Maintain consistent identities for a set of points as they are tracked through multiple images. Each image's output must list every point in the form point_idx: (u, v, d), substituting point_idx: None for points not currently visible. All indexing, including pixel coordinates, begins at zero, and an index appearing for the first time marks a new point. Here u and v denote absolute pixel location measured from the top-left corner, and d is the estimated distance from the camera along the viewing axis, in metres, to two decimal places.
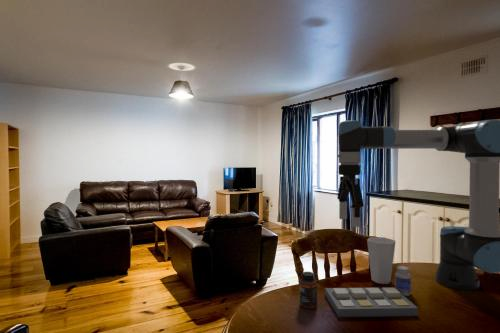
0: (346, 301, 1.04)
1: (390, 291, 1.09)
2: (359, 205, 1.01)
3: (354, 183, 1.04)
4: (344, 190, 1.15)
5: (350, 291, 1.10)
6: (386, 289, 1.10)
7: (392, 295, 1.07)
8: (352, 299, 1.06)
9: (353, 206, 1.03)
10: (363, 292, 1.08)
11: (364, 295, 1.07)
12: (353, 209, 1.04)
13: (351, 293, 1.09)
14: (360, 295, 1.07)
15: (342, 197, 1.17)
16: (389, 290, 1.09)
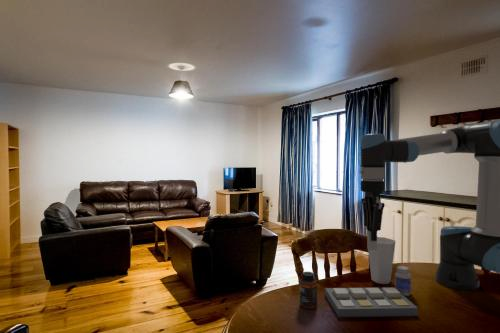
0: (346, 301, 1.04)
1: (390, 291, 1.09)
2: (376, 230, 1.00)
3: (377, 208, 0.98)
4: (369, 210, 1.04)
5: (350, 291, 1.10)
6: (386, 289, 1.10)
7: (392, 295, 1.07)
8: (352, 299, 1.06)
9: (370, 230, 1.02)
10: (363, 292, 1.08)
11: (364, 295, 1.07)
12: (370, 232, 1.03)
13: (351, 293, 1.09)
14: (360, 295, 1.07)
15: (369, 221, 1.05)
16: (389, 290, 1.09)
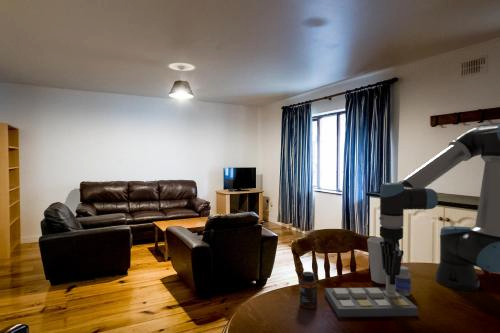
0: (346, 301, 1.04)
1: (390, 293, 1.09)
2: (395, 275, 1.06)
3: (397, 255, 1.04)
4: (388, 255, 1.10)
5: (350, 291, 1.10)
6: (386, 292, 1.10)
7: None
8: (352, 299, 1.06)
9: (388, 275, 1.08)
10: (363, 292, 1.08)
11: (364, 295, 1.07)
12: (388, 276, 1.09)
13: (351, 293, 1.09)
14: (360, 295, 1.07)
15: None
16: (389, 293, 1.09)
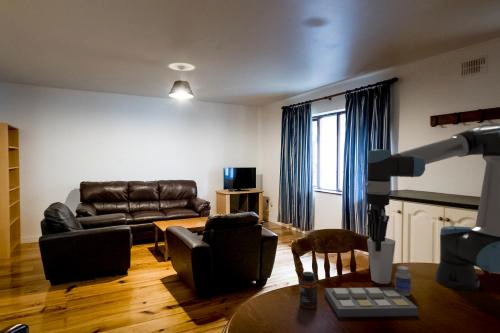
0: (346, 301, 1.04)
1: (390, 294, 1.09)
2: (380, 241, 1.06)
3: (382, 221, 1.03)
4: (374, 222, 1.10)
5: (350, 291, 1.10)
6: (386, 292, 1.10)
7: None
8: (352, 299, 1.06)
9: (374, 241, 1.07)
10: (363, 292, 1.08)
11: (364, 295, 1.07)
12: (374, 243, 1.08)
13: (351, 293, 1.09)
14: (360, 295, 1.07)
15: None
16: (389, 293, 1.09)
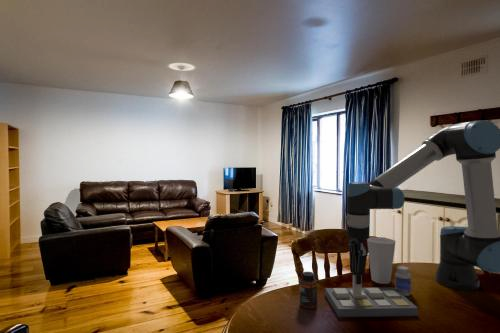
0: (346, 301, 1.04)
1: (390, 294, 1.09)
2: (360, 274, 1.06)
3: (361, 255, 1.03)
4: (355, 254, 1.10)
5: (350, 293, 1.10)
6: (386, 292, 1.10)
7: None
8: (352, 299, 1.06)
9: (354, 274, 1.08)
10: (363, 294, 1.08)
11: (364, 297, 1.07)
12: (355, 276, 1.08)
13: (351, 295, 1.09)
14: (360, 297, 1.07)
15: (355, 265, 1.10)
16: (389, 293, 1.09)
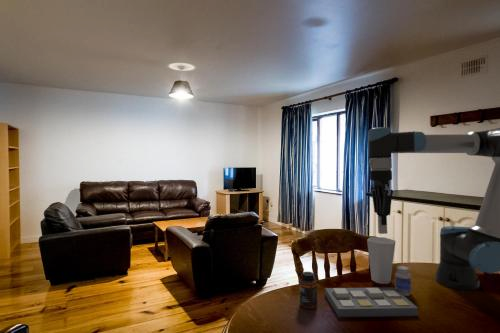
0: (346, 301, 1.04)
1: (390, 294, 1.09)
2: (386, 214, 1.10)
3: (386, 195, 1.08)
4: (379, 197, 1.14)
5: (350, 294, 1.10)
6: (386, 292, 1.10)
7: None
8: (352, 299, 1.06)
9: (380, 215, 1.12)
10: (363, 295, 1.08)
11: None
12: (380, 217, 1.13)
13: (351, 296, 1.09)
14: None
15: (379, 208, 1.14)
16: (389, 293, 1.09)
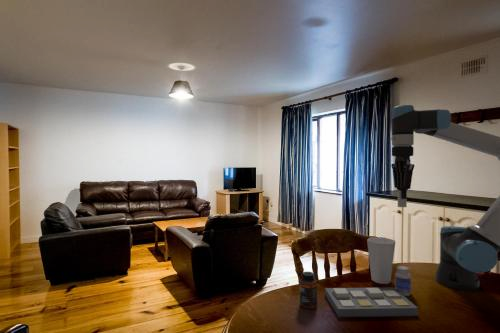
0: (346, 301, 1.04)
1: (390, 294, 1.09)
2: (406, 188, 1.16)
3: (408, 169, 1.13)
4: (399, 173, 1.19)
5: (350, 294, 1.10)
6: (386, 292, 1.10)
7: None
8: (352, 299, 1.06)
9: (400, 189, 1.17)
10: (363, 295, 1.08)
11: None
12: (400, 191, 1.18)
13: (351, 296, 1.09)
14: None
15: (399, 183, 1.20)
16: (389, 293, 1.09)
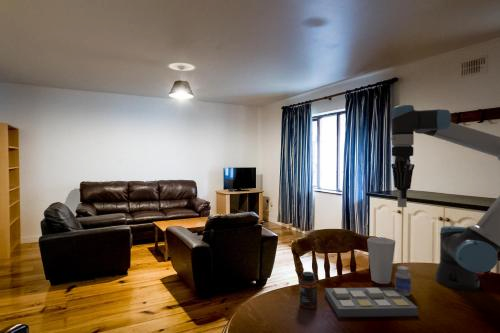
0: (346, 301, 1.04)
1: (390, 294, 1.09)
2: (406, 188, 1.16)
3: (408, 169, 1.13)
4: (399, 173, 1.19)
5: (350, 294, 1.10)
6: (386, 292, 1.10)
7: None
8: (352, 299, 1.06)
9: (400, 189, 1.17)
10: (363, 295, 1.08)
11: None
12: (400, 191, 1.18)
13: (351, 296, 1.09)
14: None
15: (399, 183, 1.20)
16: (389, 293, 1.09)
